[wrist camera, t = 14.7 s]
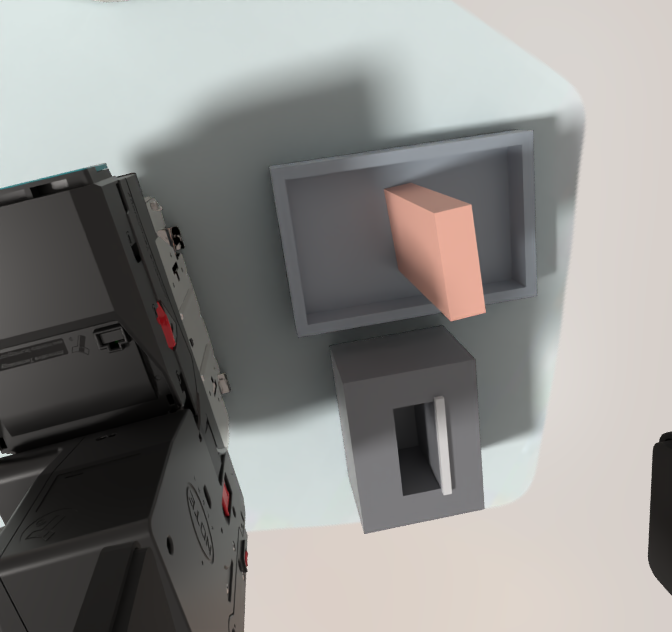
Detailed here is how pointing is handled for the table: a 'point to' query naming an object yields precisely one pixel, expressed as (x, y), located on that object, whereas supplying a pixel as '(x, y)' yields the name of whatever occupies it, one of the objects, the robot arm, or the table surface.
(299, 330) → the tray
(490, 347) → the table surface
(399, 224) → the salmon pink rectangular block
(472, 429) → the dispenser
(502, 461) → the table surface
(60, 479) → the bill acceptor
